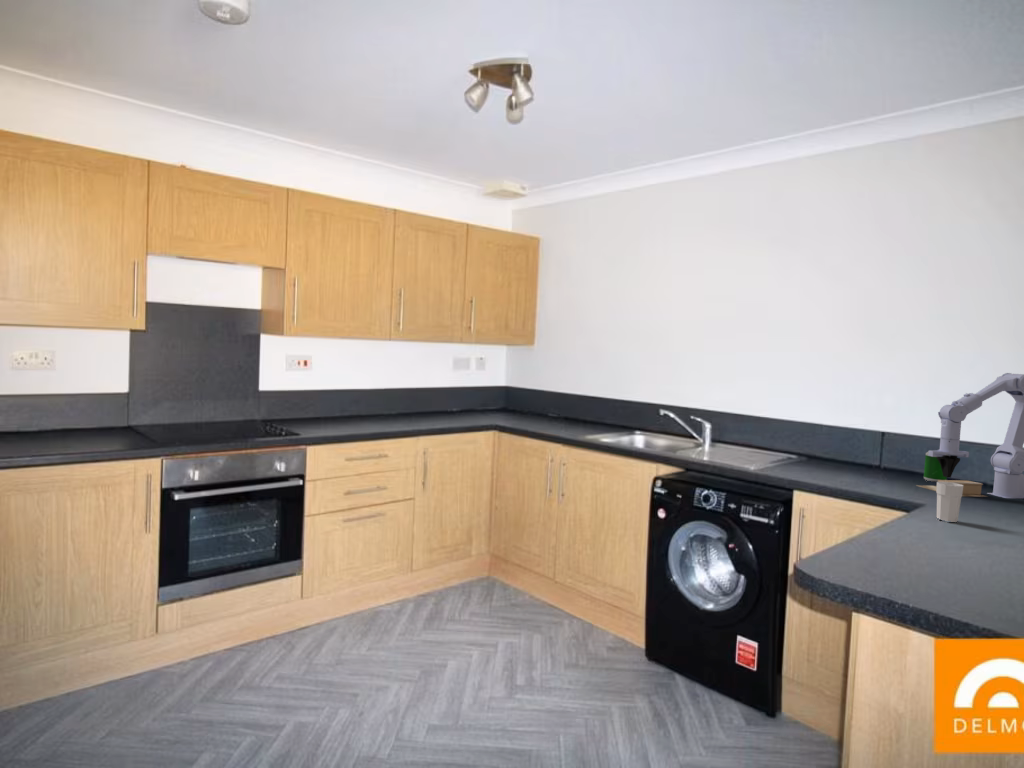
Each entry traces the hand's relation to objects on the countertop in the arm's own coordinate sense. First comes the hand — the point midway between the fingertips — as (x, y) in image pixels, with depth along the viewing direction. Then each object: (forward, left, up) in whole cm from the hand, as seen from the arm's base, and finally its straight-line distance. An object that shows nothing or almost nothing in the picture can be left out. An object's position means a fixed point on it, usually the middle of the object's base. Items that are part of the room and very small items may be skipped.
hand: (946, 476), depth 232 cm
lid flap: (-5, 0, -2) cm, 6 cm away
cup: (+32, +35, -7) cm, 48 cm away
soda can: (-15, -22, -7) cm, 28 cm away
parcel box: (-5, 0, -6) cm, 8 cm away
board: (-5, -4, -6) cm, 9 cm away
